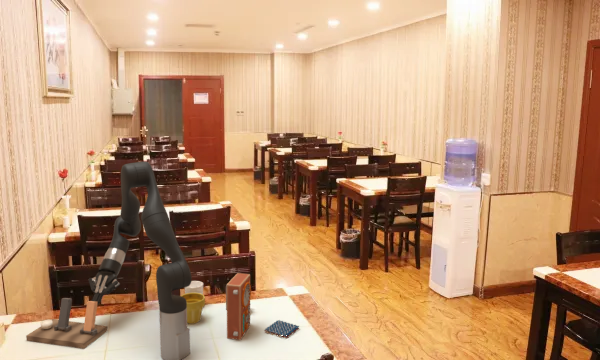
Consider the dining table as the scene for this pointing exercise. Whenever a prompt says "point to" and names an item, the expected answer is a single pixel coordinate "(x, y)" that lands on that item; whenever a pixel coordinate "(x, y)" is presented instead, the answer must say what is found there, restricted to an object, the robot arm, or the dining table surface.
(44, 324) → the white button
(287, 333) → the woven mat
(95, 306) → the orange block
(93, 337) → the switch board
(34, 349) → the dining table surface
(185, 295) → the plant pot
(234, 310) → the control panel
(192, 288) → the white cup
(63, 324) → the long grey beam
